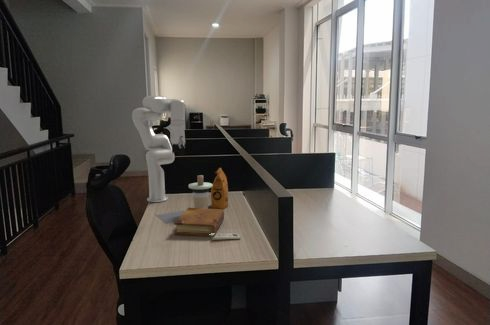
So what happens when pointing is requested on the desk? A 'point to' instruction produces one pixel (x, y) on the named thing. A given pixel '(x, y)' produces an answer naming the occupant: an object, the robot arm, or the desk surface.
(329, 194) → the desk surface
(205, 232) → the diary
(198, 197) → the coffee cup
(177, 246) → the desk surface
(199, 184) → the lid
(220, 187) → the coffee package
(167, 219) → the mat
